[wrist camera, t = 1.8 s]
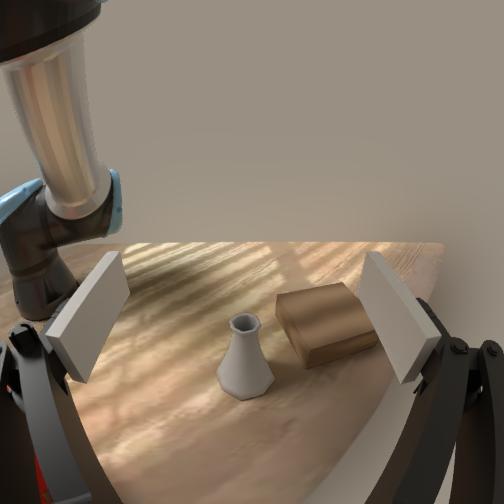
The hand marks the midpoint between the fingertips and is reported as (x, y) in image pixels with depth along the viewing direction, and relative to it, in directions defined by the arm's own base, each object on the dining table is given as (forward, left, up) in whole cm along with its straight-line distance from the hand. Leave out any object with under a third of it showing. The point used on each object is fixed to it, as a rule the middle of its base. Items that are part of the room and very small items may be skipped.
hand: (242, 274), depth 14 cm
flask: (-9, +3, -22) cm, 24 cm away
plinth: (-14, +17, -22) cm, 31 cm away
